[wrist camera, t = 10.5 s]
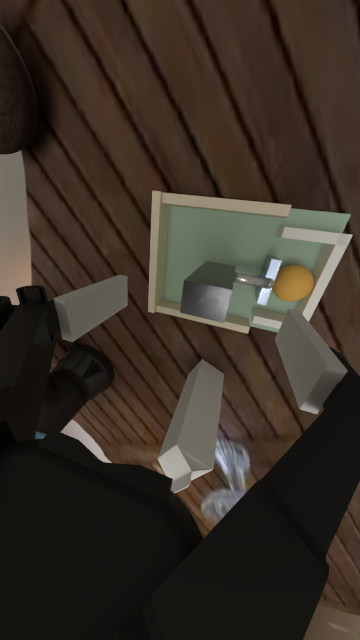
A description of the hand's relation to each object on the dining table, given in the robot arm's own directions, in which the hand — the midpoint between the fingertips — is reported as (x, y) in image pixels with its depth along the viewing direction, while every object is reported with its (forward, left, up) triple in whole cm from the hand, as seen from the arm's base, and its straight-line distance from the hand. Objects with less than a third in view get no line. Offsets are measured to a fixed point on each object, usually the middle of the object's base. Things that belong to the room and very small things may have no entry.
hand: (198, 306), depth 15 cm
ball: (+10, 0, -15) cm, 18 cm away
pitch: (+2, 0, -19) cm, 19 cm away
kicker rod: (+3, 0, -17) cm, 17 cm away
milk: (+2, -24, -19) cm, 30 cm away
